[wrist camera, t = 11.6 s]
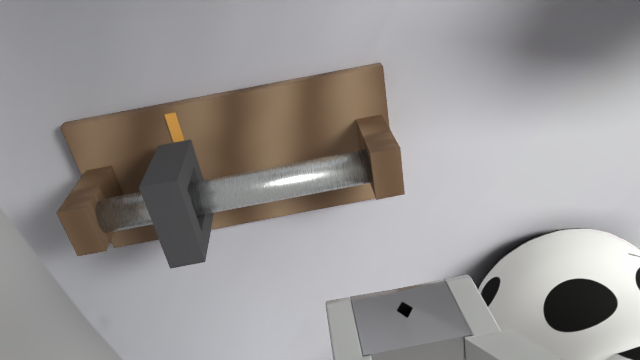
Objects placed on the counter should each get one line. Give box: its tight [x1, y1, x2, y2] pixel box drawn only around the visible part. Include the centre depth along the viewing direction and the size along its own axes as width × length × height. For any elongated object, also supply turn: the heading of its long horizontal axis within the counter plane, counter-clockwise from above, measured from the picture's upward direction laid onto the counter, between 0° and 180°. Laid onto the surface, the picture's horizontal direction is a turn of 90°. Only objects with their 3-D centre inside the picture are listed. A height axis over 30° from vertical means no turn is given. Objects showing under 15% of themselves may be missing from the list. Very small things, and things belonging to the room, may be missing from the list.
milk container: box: [478, 228, 640, 360], centre depth 42 cm, size 17×17×18 cm
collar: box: [139, 139, 214, 268], centre depth 36 cm, size 2×6×6 cm, turn 10°
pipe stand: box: [57, 63, 405, 256], centre depth 37 cm, size 24×11×7 cm, turn 100°
